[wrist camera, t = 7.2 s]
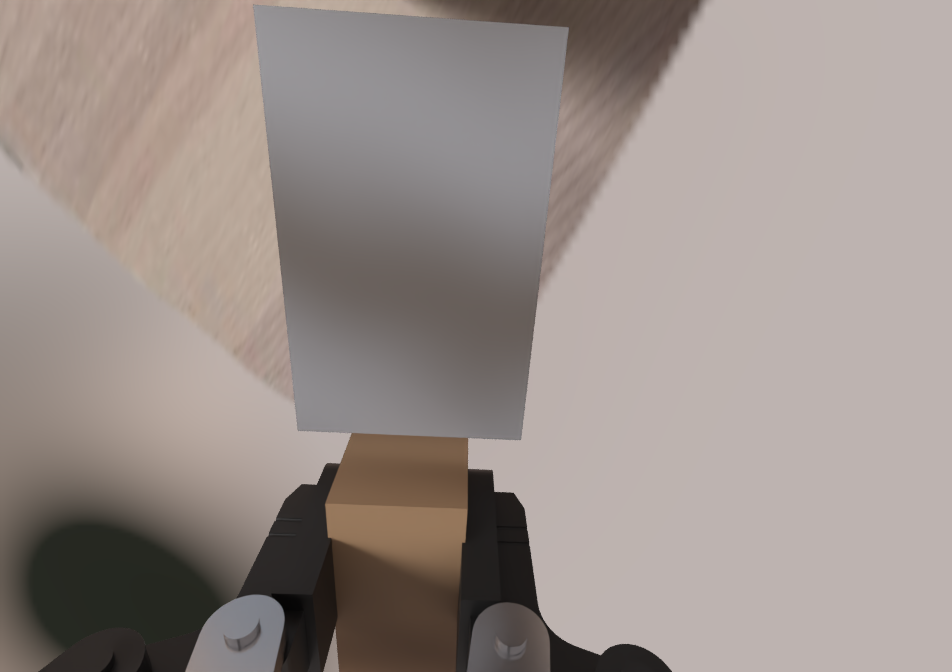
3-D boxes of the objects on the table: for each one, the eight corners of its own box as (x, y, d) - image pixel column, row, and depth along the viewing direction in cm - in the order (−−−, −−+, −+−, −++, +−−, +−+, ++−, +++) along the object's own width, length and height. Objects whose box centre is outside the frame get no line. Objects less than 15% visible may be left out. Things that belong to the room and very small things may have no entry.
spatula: (272, 14, 8) (175, -38, 6) (560, 35, 9) (603, -6, 6) (329, 635, 15) (297, 752, 12) (493, 640, 15) (498, 756, 12)
